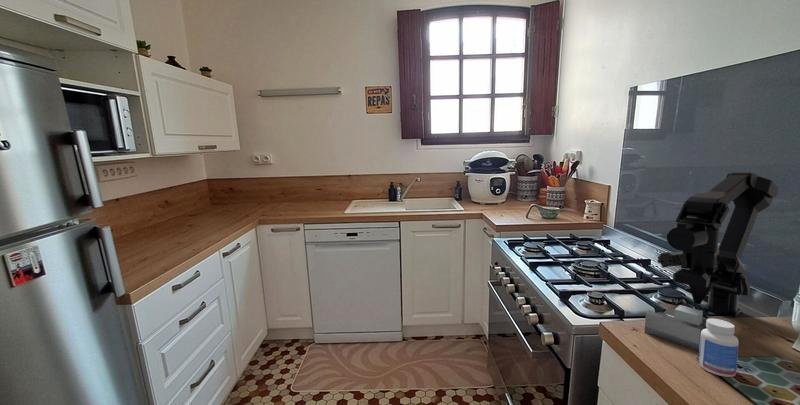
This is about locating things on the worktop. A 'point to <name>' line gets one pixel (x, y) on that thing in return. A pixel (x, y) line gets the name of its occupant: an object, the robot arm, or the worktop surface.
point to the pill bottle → (719, 348)
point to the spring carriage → (688, 315)
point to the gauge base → (674, 329)
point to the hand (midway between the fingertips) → (697, 303)
